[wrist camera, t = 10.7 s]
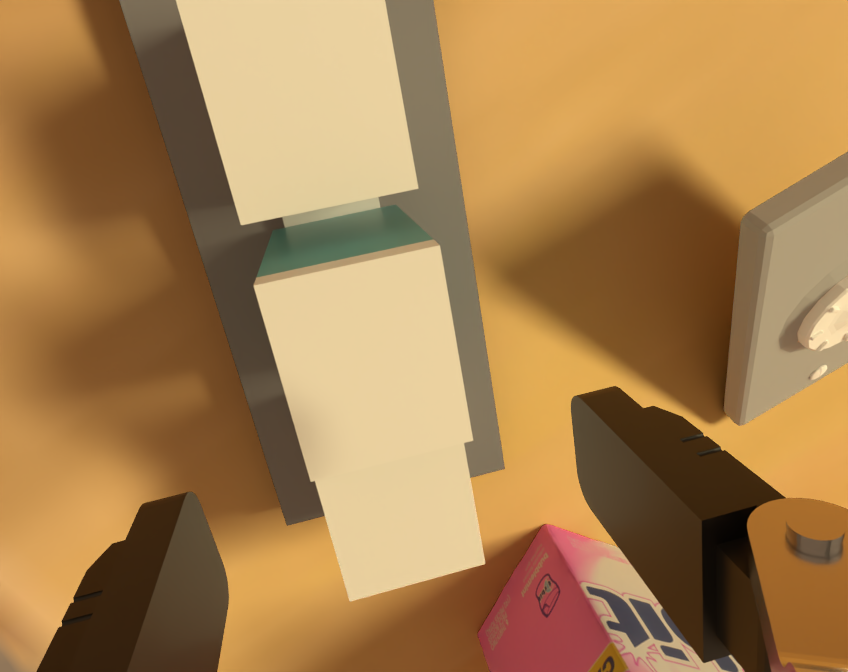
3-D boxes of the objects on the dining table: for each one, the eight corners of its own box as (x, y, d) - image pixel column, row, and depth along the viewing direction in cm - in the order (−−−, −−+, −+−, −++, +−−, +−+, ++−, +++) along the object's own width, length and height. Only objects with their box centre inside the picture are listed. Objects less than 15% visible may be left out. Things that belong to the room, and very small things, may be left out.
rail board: (117, -39, 20) (19, -121, 13) (410, -85, 21) (458, -183, 14) (288, 505, 28) (281, 626, 21) (495, 452, 29) (551, 551, 22)
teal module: (272, 230, 21) (253, 285, 14) (395, 204, 22) (439, 245, 14) (310, 368, 23) (310, 481, 16) (422, 342, 24) (473, 440, 16)
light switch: (751, 443, 29) (788, 250, 18) (672, 359, 33) (662, 157, 22) (903, 352, 29) (1035, 101, 18) (806, 279, 33) (865, 33, 22)
